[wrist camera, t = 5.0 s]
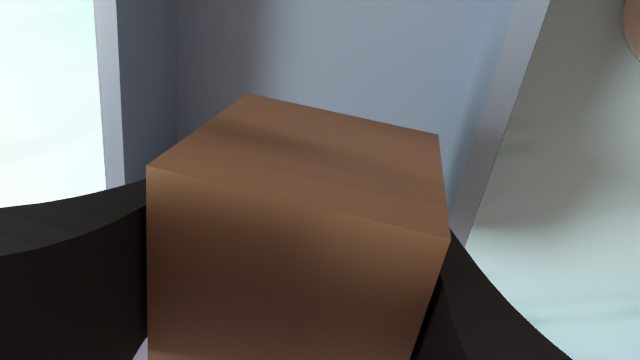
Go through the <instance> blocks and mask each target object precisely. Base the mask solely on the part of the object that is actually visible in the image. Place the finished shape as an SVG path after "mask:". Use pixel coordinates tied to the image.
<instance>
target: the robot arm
mask: <svg viewBox="0 0 640 360" xmlns="http://www.w3.org/2000/svg"><path fill="white" fill-rule="evenodd" d="M450 234H451V241H450V244H449V247H448V250H447V252H446V255H445V258H444V261H443V264H442V267H441V270H440V273H439V276H438V279H437V281H436V284H435V287H434V290H433V293H432V296H431V299H430V302H429V305H428V307H427V310H426V313H425V316H424V319H423V322H422V325H421V328H420V331H419V333H418V336H417V339H416V342H415V345H414V348H413V351H412V354H411V357H410V360H572V359H571V358H570V357H569V356H567V355H566V354H565V353H564V352H563V351H561V350H560V349H559V348H558V347H556V346H555V345H554V344H553V343H551V342H550V341H549V340H548V339H547V338H546V337H545V336H543V335H542V334H541V333H540V332H539V331H538V330H537V329H536V328H535V327H533V326H532V325H531V324H530V323H529V322H528V321H527V320H526V319H525V318H524V317H523V316H522V315H521V314H520V313H519V312H518V311H517V310H516V309H515V308H514V307H513V306H512V305H511V304H510V303H509V302H508V301H507V300H506V299H505V298H504V297H503V295H502V294H501V293H500V292H499V291H498V290H497V289H496V287H495V286H494V285H493V284H492V283H491V282H490V281H489V279H488V278H487V277H486V276H485V274H484V273H483V272H482V271H481V269H480V268H479V267H478V266H477V264H476V263H475V262H474V260H473V259H472V258H471V256H470V255H469V254H468V252H467V251H466V250H465V248H464V247H463V245H462V244H461V243H460V241H459V240H458V238H457V237H456V235H455V234H454V233H453V231H452V230H451V228H450ZM0 360H148V338H147V229H146V179H143V180H140V181H137V182H133V183H130V184H126V185H122V186H119V187H115V188H111V189H107V190H104V191H100V192H96V193H92V194H88V195H83V196H78V197H74V198H68V199H63V200H57V201H52V202H45V203H39V204H30V205H22V206H13V207H5V208H0Z"/></svg>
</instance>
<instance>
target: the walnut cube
mask: <svg viewBox="0 0 640 360" xmlns="http://www.w3.org/2000/svg"><path fill="white" fill-rule="evenodd" d="M146 229H147V338H148V360H410V357H411V354H412V351H413V348H414V345H415V342H416V339H417V336H418V333H419V331H420V328H421V325H422V322H423V319H424V316H425V313H426V310H427V307H428V305H429V302H430V299H431V296H432V293H433V290H434V287H435V284H436V281H437V279H438V276H439V273H440V270H441V267H442V264H443V261H444V258H445V255H446V252H447V250H448V247H449V244H450V241H451V234H450V226H449V218H448V210H447V202H446V193H445V185H444V177H443V169H442V161H441V153H440V144H439V136H438V134H434V133H429V132H425V131H420V130H416V129H411V128H406V127H402V126H397V125H393V124H388V123H383V122H379V121H374V120H370V119H365V118H360V117H356V116H351V115H347V114H342V113H337V112H333V111H328V110H324V109H319V108H314V107H310V106H305V105H301V104H296V103H291V102H287V101H282V100H278V99H273V98H268V97H264V96H259V95H255V94H250V93H247V94H246V95H245V96H243V97H242V98H240V99H239V100H238V101H236V102H235V103H233V104H232V105H231V106H229V107H228V108H226V109H225V110H223V111H222V112H221V113H219V114H218V115H216V116H215V117H214V118H212V119H211V120H209V121H208V122H207V123H205V124H204V125H202V126H201V127H200V128H198V129H197V130H195V131H194V132H193V133H191V134H190V135H188V136H187V137H185V138H184V139H183V140H181V141H180V142H178V143H177V144H176V145H174V146H173V147H171V148H170V149H169V150H167V151H166V152H164V153H163V154H162V155H160V156H159V157H157V158H156V159H154V160H153V161H152V162H150V163H149V164H147V165H146Z"/></svg>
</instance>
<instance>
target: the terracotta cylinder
mask: <svg viewBox="0 0 640 360" xmlns="http://www.w3.org/2000/svg"><path fill="white" fill-rule="evenodd" d="M622 26H623V33H624V37H625V40H626V42H627V45H628V47H629V48H630V50H631V52H632V53H633V54H634V55H635V57H636V58H637V59H638V60H639V61H640V0H625V3H624V7H623V15H622Z"/></svg>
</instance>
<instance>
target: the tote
mask: <svg viewBox="0 0 640 360" xmlns="http://www.w3.org/2000/svg"><path fill="white" fill-rule="evenodd" d="M93 2H94V17H95V31H96V46H97V60H98V75H99V89H100V104H101V118H102V133H103V147H104V162H105V176H106V190H107V189H111V188H115V187H119V186H122V185H126V184H130V183H133V182H137V181H140V180H143V179H146V165H147V164H149V163H150V162H152V161H153V160H154V159H156V158H157V157H159V156H160V155H162V154H163V153H164V152H166V151H167V150H169V149H170V148H171V147H173V146H174V145H176V144H177V143H178V142H180V141H181V140H183V139H184V138H185V137H187V136H188V135H190V134H191V133H193V132H194V131H195V130H197V129H198V128H200V127H201V126H202V125H204V124H205V123H207V122H208V121H209V120H211V119H212V118H214V117H215V116H216V115H218V114H219V113H221V112H222V111H223V110H225V109H226V108H228V107H229V106H231V105H232V104H233V103H235V102H236V101H238V100H239V99H240V98H242V97H243V96H245V95H246V94H247V93H250V94H255V95H259V96H264V97H268V98H273V99H278V100H282V101H287V102H291V103H296V104H301V105H305V106H310V107H314V108H319V109H324V110H328V111H333V112H337V113H342V114H347V115H351V116H356V117H360V118H365V119H370V120H374V121H379V122H383V123H388V124H393V125H397V126H402V127H406V128H411V129H416V130H420V131H425V132H429V133H434V134H438V136H439V144H440V153H441V161H442V169H443V177H444V185H445V193H446V202H447V210H448V218H449V226H450V228H451V230H452V231H453V233H454V234H455V235H456V237H457V238H458V240H459V241H460V243H461V244H462V245H463V247H464V248H465V245H466V242H467V239H468V236H469V233H470V230H471V227H472V225H473V222H474V219H475V216H476V213H477V210H478V207H479V204H480V202H481V199H482V196H483V193H484V190H485V187H486V184H487V181H488V179H489V176H490V173H491V170H492V167H493V164H494V161H495V158H496V156H497V153H498V150H499V147H500V144H501V141H502V138H503V136H504V133H505V130H506V127H507V124H508V121H509V118H510V115H511V113H512V110H513V107H514V104H515V101H516V98H517V95H518V92H519V90H520V87H521V84H522V81H523V78H524V75H525V72H526V69H527V67H528V64H529V61H530V58H531V55H532V52H533V49H534V46H535V44H536V41H537V38H538V35H539V32H540V29H541V26H542V23H543V21H544V18H545V15H546V12H547V9H548V6H549V3H550V0H93Z"/></svg>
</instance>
